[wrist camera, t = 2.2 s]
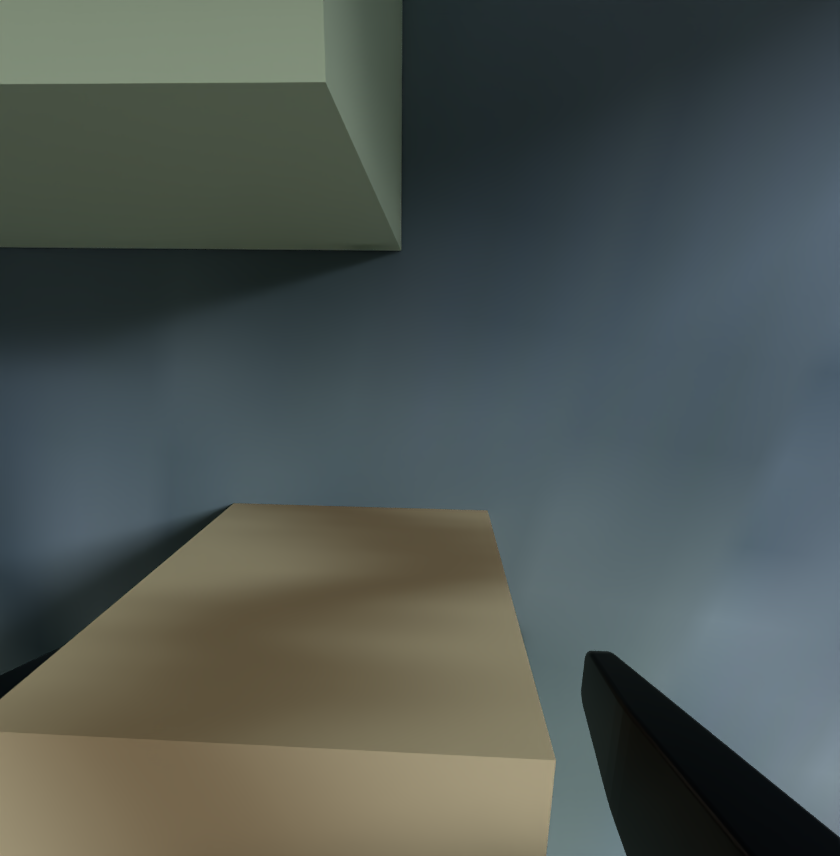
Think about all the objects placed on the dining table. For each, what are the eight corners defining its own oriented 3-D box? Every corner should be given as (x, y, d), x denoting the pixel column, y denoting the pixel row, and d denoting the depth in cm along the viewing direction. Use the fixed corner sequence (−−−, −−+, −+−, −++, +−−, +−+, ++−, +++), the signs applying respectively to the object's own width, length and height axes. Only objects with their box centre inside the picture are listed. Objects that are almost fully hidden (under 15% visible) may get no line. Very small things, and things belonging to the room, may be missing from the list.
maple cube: (487, 508, 8) (555, 760, 3) (476, 719, 9) (516, 1135, 5) (235, 501, 9) (-38, 730, 4) (254, 709, 10) (64, 1095, 5)
